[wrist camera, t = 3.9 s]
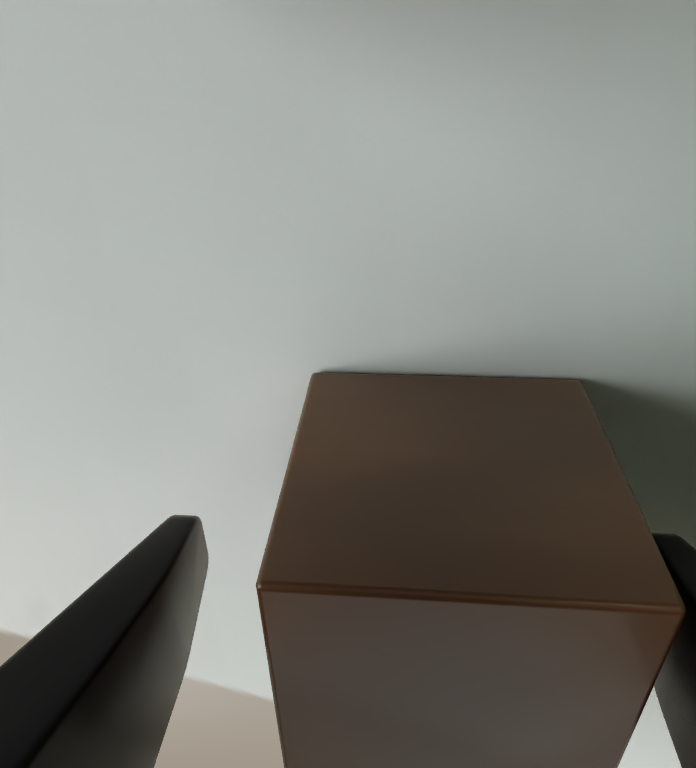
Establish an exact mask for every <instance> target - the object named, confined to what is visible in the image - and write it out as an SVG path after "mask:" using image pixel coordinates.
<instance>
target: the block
mask: <svg viewBox="0 0 696 768" xmlns="http://www.w3.org/2000/svg"><path fill="white" fill-rule="evenodd" d="M256 588H257V595H258V601H259V607H260V614H261V620H262V627H263V633H264V640H265V646H266V653H267V659H268V665H269V672H270V678H271V685H272V691H273V698H274V704H275V711H276V717H277V723H278V730H279V736H280V743H281V749H282V756H283V762H284V768H617V767H618V765H619V763H620V760H621V758H622V756H623V754H624V751H625V749H626V747H627V745H628V742H629V740H630V738H631V736H632V733H633V731H634V729H635V727H636V724H637V722H638V720H639V718H640V715H641V713H642V711H643V709H644V706H645V704H646V702H647V700H648V697H649V695H650V693H651V691H652V688H653V686H654V684H655V682H656V680H657V677H658V675H659V673H660V671H661V668H662V666H663V664H664V662H665V659H666V657H667V655H668V653H669V650H670V648H671V646H672V644H673V641H674V639H675V637H676V635H677V632H678V630H679V628H680V626H681V623H682V621H683V619H684V617H685V605H684V603H683V601H682V599H681V597H680V594H679V592H678V590H677V588H676V586H675V584H674V581H673V579H672V577H671V575H670V573H669V571H668V568H667V566H666V564H665V562H664V560H663V558H662V556H661V553H660V551H659V549H658V547H657V545H656V543H655V540H654V538H653V536H652V534H651V532H650V530H649V527H648V525H647V523H646V521H645V519H644V517H643V514H642V512H641V510H640V508H639V506H638V504H637V501H636V499H635V497H634V495H633V493H632V491H631V488H630V486H629V484H628V482H627V480H626V478H625V475H624V473H623V471H622V469H621V467H620V465H619V462H618V460H617V458H616V456H615V454H614V452H613V449H612V447H611V445H610V443H609V441H608V439H607V436H606V434H605V432H604V430H603V428H602V426H601V424H600V421H599V419H598V417H597V415H596V413H595V411H594V408H593V406H592V404H591V402H590V400H589V398H588V395H587V393H586V391H585V389H584V387H583V385H582V382H581V381H579V380H568V379H532V378H496V377H460V376H424V375H388V374H352V373H313V374H312V376H311V379H310V383H309V387H308V390H307V394H306V398H305V402H304V405H303V409H302V413H301V417H300V421H299V424H298V428H297V432H296V436H295V439H294V443H293V447H292V451H291V454H290V458H289V462H288V466H287V469H286V473H285V477H284V481H283V485H282V488H281V492H280V496H279V500H278V503H277V507H276V511H275V515H274V518H273V522H272V526H271V530H270V533H269V537H268V541H267V545H266V548H265V552H264V556H263V560H262V564H261V567H260V571H259V575H258V579H257V582H256Z"/></svg>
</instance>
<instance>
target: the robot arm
mask: <svg viewBox="0 0 696 768" xmlns="http://www.w3.org/2000/svg"><path fill="white" fill-rule="evenodd" d="M651 534H652V536H653V538H654V540H655V543H656V545H657V547H658V549H659V551H660V553H661V556H662V558H663V560H664V562H665V564H666V566H667V568H668V571H669V573H670V575H671V577H672V579H673V581H674V584H675V586H676V588H677V590H678V592H679V594H680V597H681V599H682V601H683V603H684V605H685V617H684V619H683V621H682V623H681V626H680V628H679V630H678V632H677V635H676V637H675V639H674V641H673V644H672V646H671V648H670V650H669V653H668V655H667V657H666V659H665V662H664V664H663V666H662V668H661V671H660V673H659V675H658V677H657V680H656V682H655V684H654V687H655V691H656V694H657V697H658V700H659V703H660V707H661V710H662V713H663V715H664V718H665V721H666V724H667V727H668V730H669V732H670V735H671V738H672V741H673V744H674V747H675V750H676V752H677V755H678V758H679V761H680V764H681V767H682V768H696V549H694V548H693V547H692V546H691V545H690V544H688V543H687V542H686V541H685V540H684V539H682V538H681V537H679V536H677V535H675V534H664V533H651ZM207 569H208V551H207V546H206V541H205V536H204V531H203V526H202V522H201V520H200V518H199V517H197V516H189V515H173V516H171V517H169V518H168V519H167V520H166V521H164V522H163V523H162V524H161V525H160V526H159V527H158V528H156V529H155V530H154V531H153V532H152V533H151V534H150V535H149V536H147V537H146V538H145V539H144V540H143V541H142V542H141V543H140V544H138V545H137V546H136V547H135V548H134V549H133V550H132V551H130V552H129V553H128V554H127V555H126V556H125V557H124V558H123V559H121V560H120V561H119V562H118V563H117V564H116V565H115V566H113V567H112V568H111V569H110V570H109V571H108V572H107V573H106V574H104V575H103V576H102V577H101V578H100V579H99V580H98V581H96V582H95V583H94V584H93V585H92V586H91V587H90V588H89V589H87V590H86V591H85V592H84V593H83V594H82V595H81V596H79V597H78V598H77V599H76V600H75V601H74V602H73V603H72V604H70V605H69V606H68V607H67V608H66V609H65V610H64V611H63V612H61V613H60V614H59V615H58V616H57V617H56V618H55V619H53V620H52V621H51V622H50V623H49V624H48V625H47V626H46V627H44V628H43V629H42V630H41V631H40V632H39V633H38V634H36V635H35V636H34V637H33V638H32V639H31V640H30V641H29V642H28V643H26V644H25V645H24V646H23V647H22V648H21V649H19V650H18V651H17V652H16V653H15V654H14V655H13V656H12V657H10V658H9V659H8V660H7V661H6V662H5V663H4V664H3V665H1V666H0V768H154V765H155V762H156V759H157V756H158V753H159V750H160V747H161V744H162V741H163V737H164V735H165V732H166V729H167V726H168V723H169V720H170V716H171V714H172V710H173V707H174V704H175V701H176V698H177V695H178V692H179V689H180V686H181V683H182V680H183V677H184V673H185V670H186V667H187V662H188V658H189V654H190V649H191V645H192V640H193V635H194V631H195V626H196V621H197V616H198V612H199V607H200V602H201V598H202V593H203V588H204V583H205V579H206V574H207Z"/></svg>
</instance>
